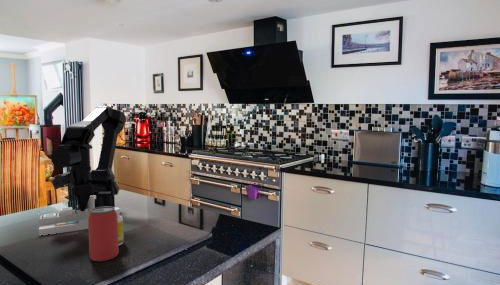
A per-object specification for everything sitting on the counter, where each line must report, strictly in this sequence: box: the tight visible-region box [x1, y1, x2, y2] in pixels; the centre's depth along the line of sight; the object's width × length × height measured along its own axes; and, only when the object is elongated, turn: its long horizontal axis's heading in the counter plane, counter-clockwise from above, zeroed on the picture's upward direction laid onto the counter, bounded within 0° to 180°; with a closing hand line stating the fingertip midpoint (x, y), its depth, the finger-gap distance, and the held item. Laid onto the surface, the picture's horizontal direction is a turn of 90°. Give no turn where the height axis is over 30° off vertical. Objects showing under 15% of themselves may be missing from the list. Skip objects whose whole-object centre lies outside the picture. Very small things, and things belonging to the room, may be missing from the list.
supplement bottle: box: [114, 206, 125, 247], centre depth 90 cm, size 5×5×10 cm
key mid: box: [59, 206, 73, 216], centre depth 106 cm, size 3×3×2 cm
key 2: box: [75, 208, 89, 214], centre depth 109 cm, size 3×3×2 cm
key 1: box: [43, 212, 57, 219], centre depth 104 cm, size 3×3×2 cm
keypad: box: [38, 208, 91, 237], centre depth 106 cm, size 14×14×4 cm
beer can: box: [87, 206, 120, 262], centre depth 81 cm, size 7×7×12 cm
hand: (82, 210), depth 109 cm, fingers closed, pressing on key 2
